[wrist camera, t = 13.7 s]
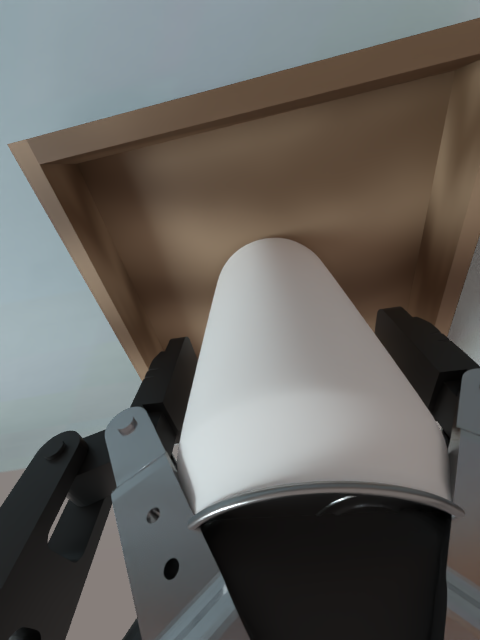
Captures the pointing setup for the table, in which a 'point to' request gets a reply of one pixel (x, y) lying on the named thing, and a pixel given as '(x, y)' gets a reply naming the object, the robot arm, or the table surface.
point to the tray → (277, 186)
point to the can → (302, 402)
